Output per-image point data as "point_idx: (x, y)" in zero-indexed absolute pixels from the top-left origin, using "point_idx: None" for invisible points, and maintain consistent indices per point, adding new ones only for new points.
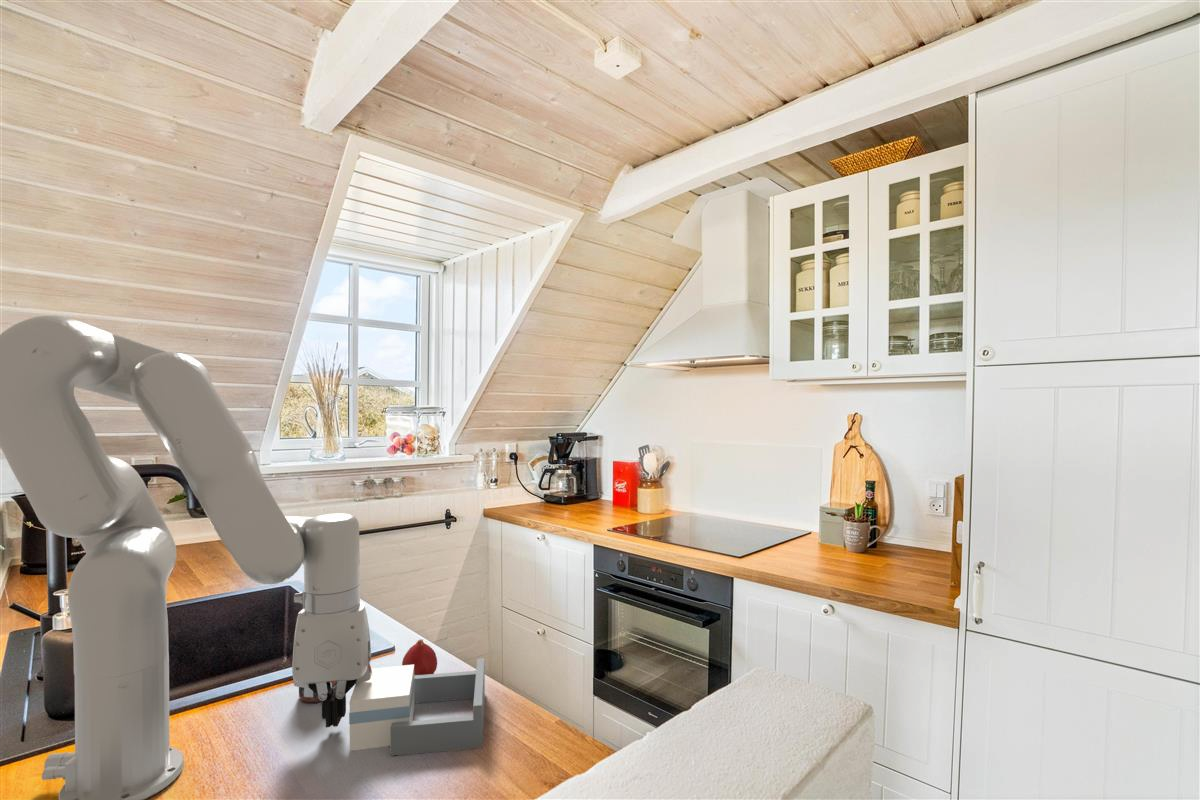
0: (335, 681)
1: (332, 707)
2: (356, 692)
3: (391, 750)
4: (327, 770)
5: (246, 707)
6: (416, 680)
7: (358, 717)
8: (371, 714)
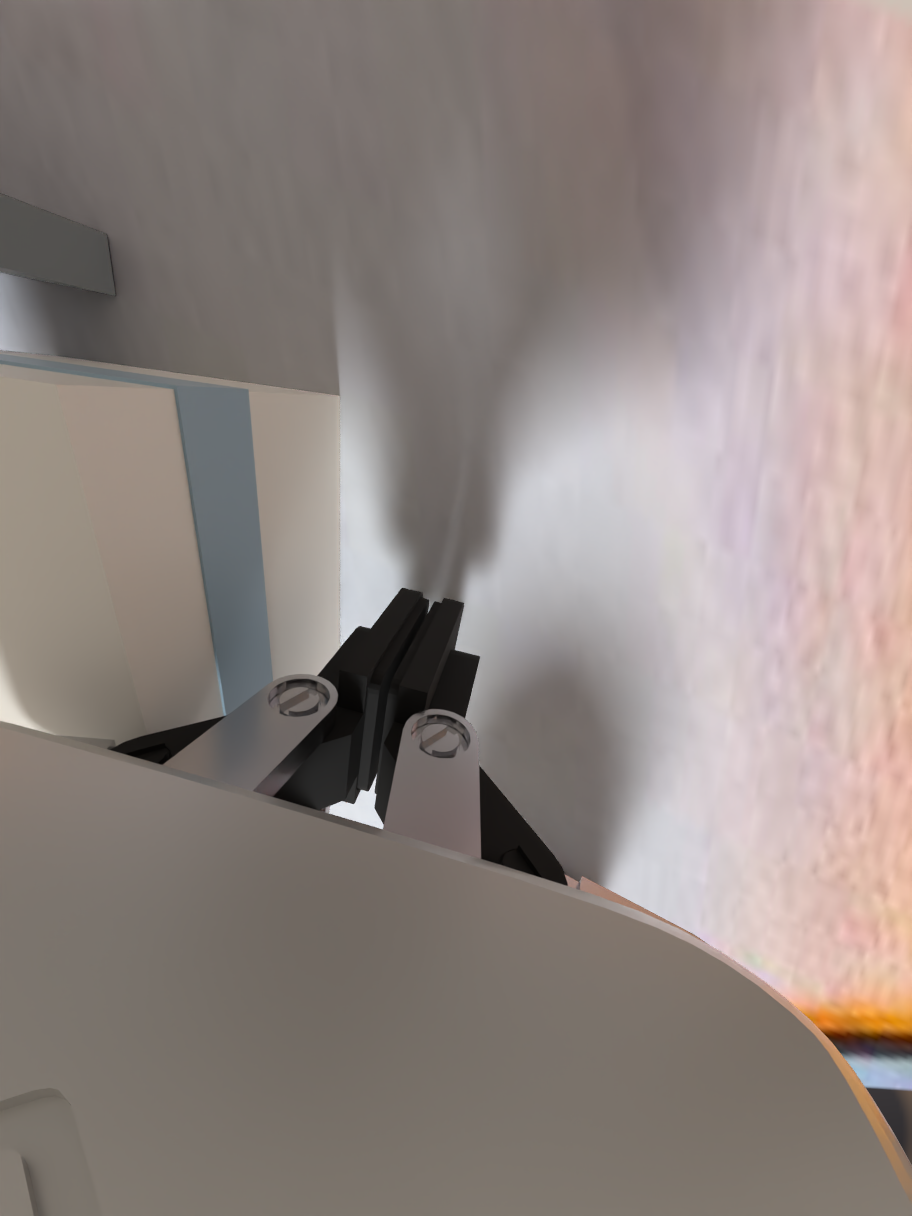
0: (202, 777)
1: (392, 651)
2: (75, 591)
3: (69, 220)
4: (440, 187)
5: (805, 953)
6: None
7: (143, 376)
8: (32, 362)
